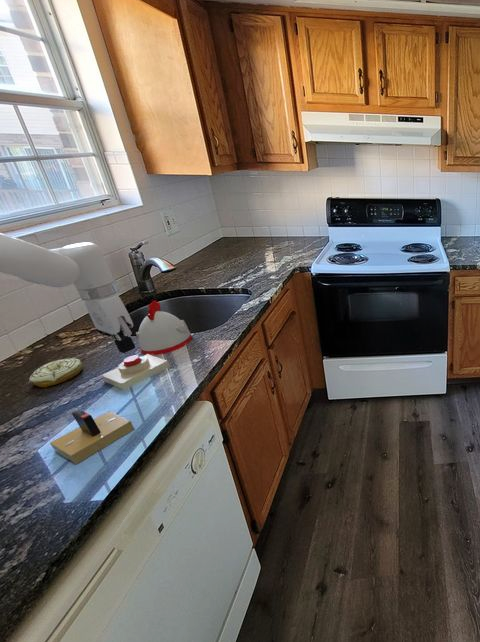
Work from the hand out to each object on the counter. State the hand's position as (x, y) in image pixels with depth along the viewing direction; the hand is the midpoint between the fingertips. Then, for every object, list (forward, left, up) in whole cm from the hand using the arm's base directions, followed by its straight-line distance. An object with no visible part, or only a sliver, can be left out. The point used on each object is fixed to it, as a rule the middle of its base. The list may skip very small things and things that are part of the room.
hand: (127, 350), depth 103 cm
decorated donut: (-10, +20, -8) cm, 24 cm away
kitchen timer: (+14, +10, -8) cm, 19 cm away
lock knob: (-19, -20, -6) cm, 28 cm away
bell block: (0, 0, -8) cm, 8 cm away
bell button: (0, 0, -4) cm, 5 cm away
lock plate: (-19, -20, -8) cm, 29 cm away
